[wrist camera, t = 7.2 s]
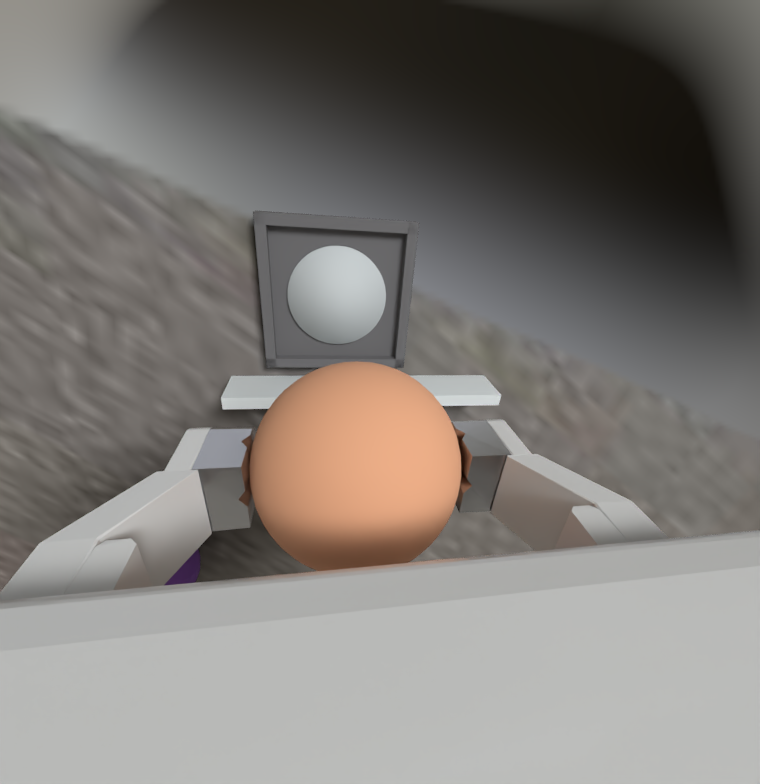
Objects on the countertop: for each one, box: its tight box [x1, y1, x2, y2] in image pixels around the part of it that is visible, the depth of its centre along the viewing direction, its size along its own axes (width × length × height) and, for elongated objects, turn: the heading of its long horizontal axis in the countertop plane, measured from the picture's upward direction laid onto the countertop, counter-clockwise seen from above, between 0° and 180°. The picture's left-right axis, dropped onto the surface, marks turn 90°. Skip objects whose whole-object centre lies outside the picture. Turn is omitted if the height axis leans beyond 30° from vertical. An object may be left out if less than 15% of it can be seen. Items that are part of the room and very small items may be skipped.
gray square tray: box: [253, 211, 419, 368], centre depth 22 cm, size 9×9×1 cm
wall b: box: [221, 375, 501, 409], centre depth 25 cm, size 18×1×3 cm, turn 86°
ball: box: [249, 361, 461, 571], centre depth 9 cm, size 5×5×5 cm
